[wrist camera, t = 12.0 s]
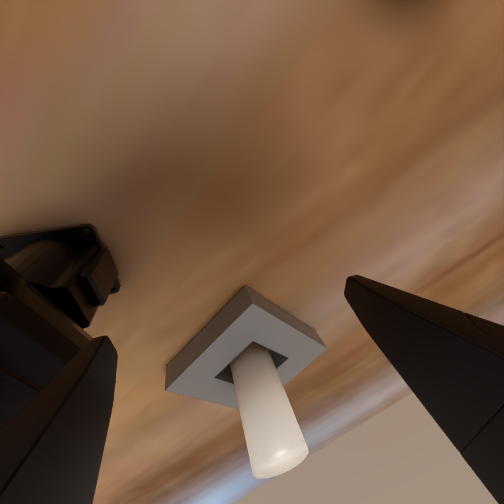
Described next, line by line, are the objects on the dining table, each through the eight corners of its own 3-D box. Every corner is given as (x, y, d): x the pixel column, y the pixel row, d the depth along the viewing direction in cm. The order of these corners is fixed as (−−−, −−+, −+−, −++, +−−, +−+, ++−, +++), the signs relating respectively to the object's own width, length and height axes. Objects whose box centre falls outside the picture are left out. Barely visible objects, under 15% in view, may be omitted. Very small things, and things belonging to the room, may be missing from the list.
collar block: (166, 366, 27) (164, 390, 24) (245, 285, 24) (252, 303, 22) (247, 391, 34) (253, 412, 31) (315, 330, 32) (327, 348, 29)
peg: (220, 357, 29) (242, 481, 19) (238, 329, 27) (272, 447, 17) (253, 361, 31) (288, 474, 21) (271, 335, 30) (319, 443, 19)
